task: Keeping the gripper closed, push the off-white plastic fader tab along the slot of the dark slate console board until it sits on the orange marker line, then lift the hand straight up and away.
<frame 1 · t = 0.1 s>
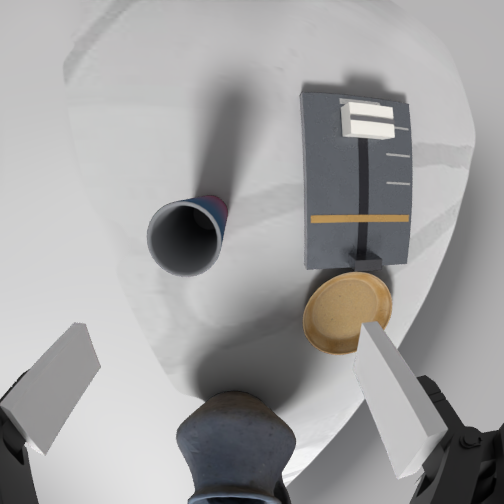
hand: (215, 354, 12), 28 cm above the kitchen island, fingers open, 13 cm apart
plant saucer: (344, 308, 43), on the kitchen island
cup: (209, 213, 38), on the kitchen island
pitcher: (241, 408, 49), on the kitchen island
console: (358, 181, 36), on the kitchen island
fader: (367, 121, 30), point 4 cm above the kitchen island, slide at 0.0 cm
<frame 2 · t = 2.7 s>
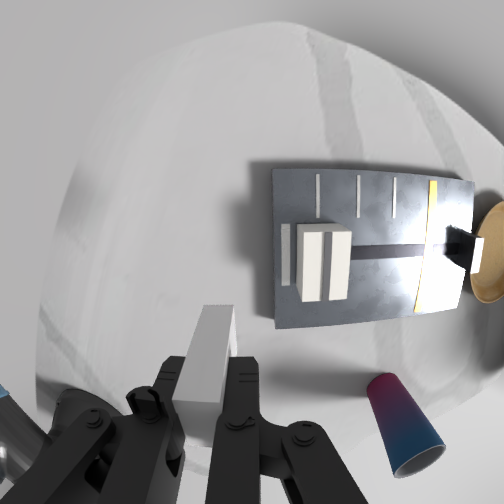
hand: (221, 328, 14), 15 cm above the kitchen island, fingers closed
plant saucer: (490, 248, 28), on the kitchen island
cup: (381, 384, 34), on the kitchen island
console: (382, 246, 28), on the kitchen island
fader: (322, 261, 24), point 4 cm above the kitchen island, slide at 0.0 cm
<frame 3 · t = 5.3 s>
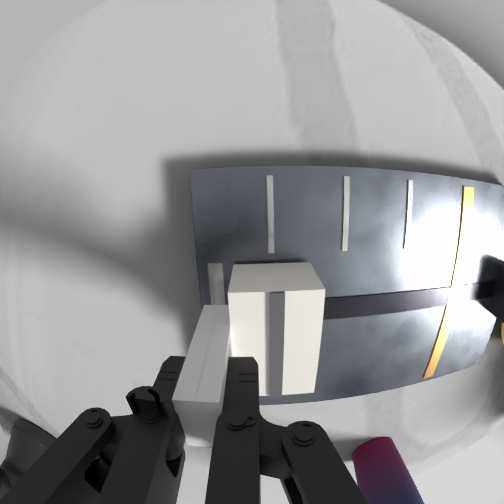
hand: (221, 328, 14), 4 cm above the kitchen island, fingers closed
cup: (372, 447, 24), on the kitchen island
console: (385, 289, 18), on the kitchen island
fader: (274, 331, 14), point 4 cm above the kitchen island, slide at 0.0 cm, touching gripper
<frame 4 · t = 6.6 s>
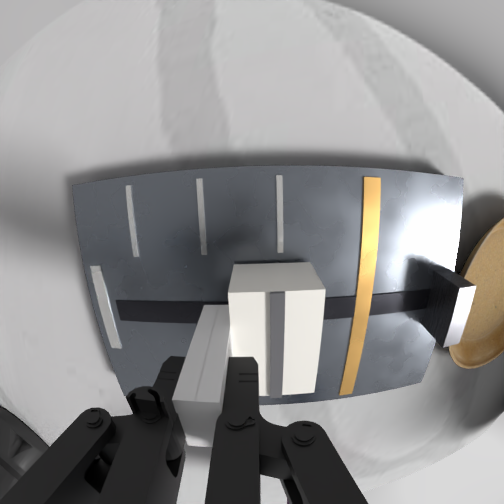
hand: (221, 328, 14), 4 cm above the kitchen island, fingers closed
plant saucer: (489, 285, 18), on the kitchen island
console: (277, 296, 18), on the kitchen island
fader: (274, 331, 14), point 4 cm above the kitchen island, slide at 7.6 cm, touching gripper
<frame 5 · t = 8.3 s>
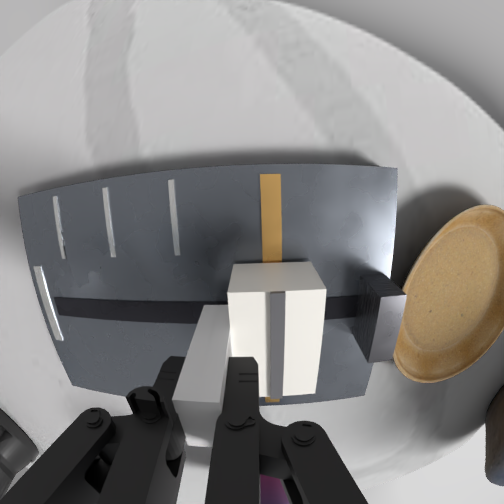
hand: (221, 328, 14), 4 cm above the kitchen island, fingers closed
plant saucer: (452, 290, 18), on the kitchen island
cup: (260, 462, 24), on the kitchen island
console: (192, 297, 18), on the kitchen island
fader: (275, 331, 13), point 4 cm above the kitchen island, slide at 13.0 cm, touching gripper
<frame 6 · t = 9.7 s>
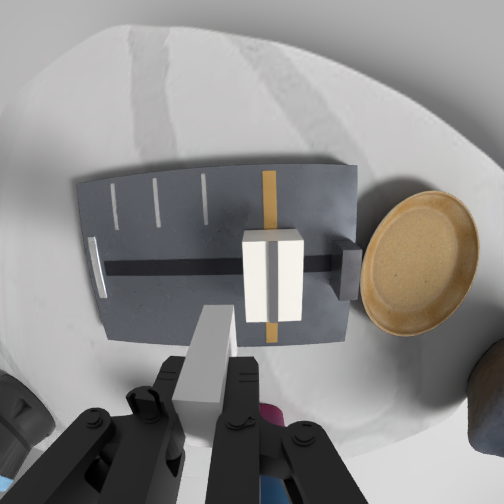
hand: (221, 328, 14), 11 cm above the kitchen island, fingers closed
plant saucer: (415, 260, 25), on the kitchen island
cup: (262, 414, 31), on the kitchen island
pitcher: (492, 359, 29), on the kitchen island
console: (213, 259, 25), on the kitchen island
fader: (272, 275, 21), point 4 cm above the kitchen island, slide at 13.0 cm
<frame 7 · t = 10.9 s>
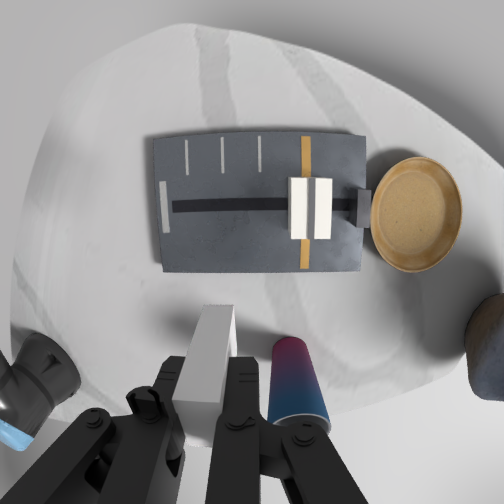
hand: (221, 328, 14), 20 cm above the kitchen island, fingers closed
plant saucer: (411, 212, 32), on the kitchen island
cup: (289, 350, 38), on the kitchen island
pitcher: (486, 316, 36), on the kitchen island
console: (260, 201, 32), on the kitchen island
fader: (309, 206, 28), point 4 cm above the kitchen island, slide at 13.0 cm
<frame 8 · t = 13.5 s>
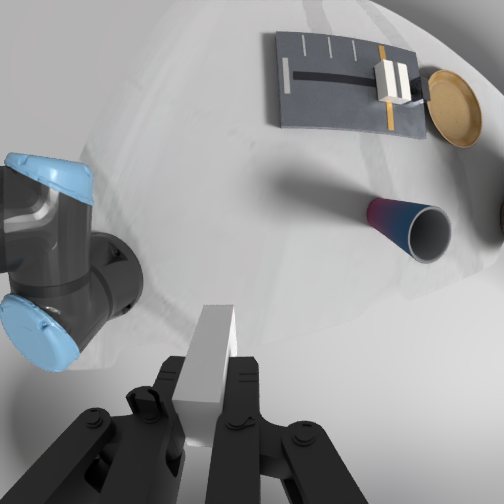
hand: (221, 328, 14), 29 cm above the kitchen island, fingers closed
plant saucer: (448, 109, 36), on the kitchen island
cup: (379, 213, 42), on the kitchen island
console: (353, 84, 35), on the kitchen island
fader: (392, 82, 31), point 4 cm above the kitchen island, slide at 13.0 cm
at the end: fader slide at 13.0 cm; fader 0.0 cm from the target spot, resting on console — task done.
